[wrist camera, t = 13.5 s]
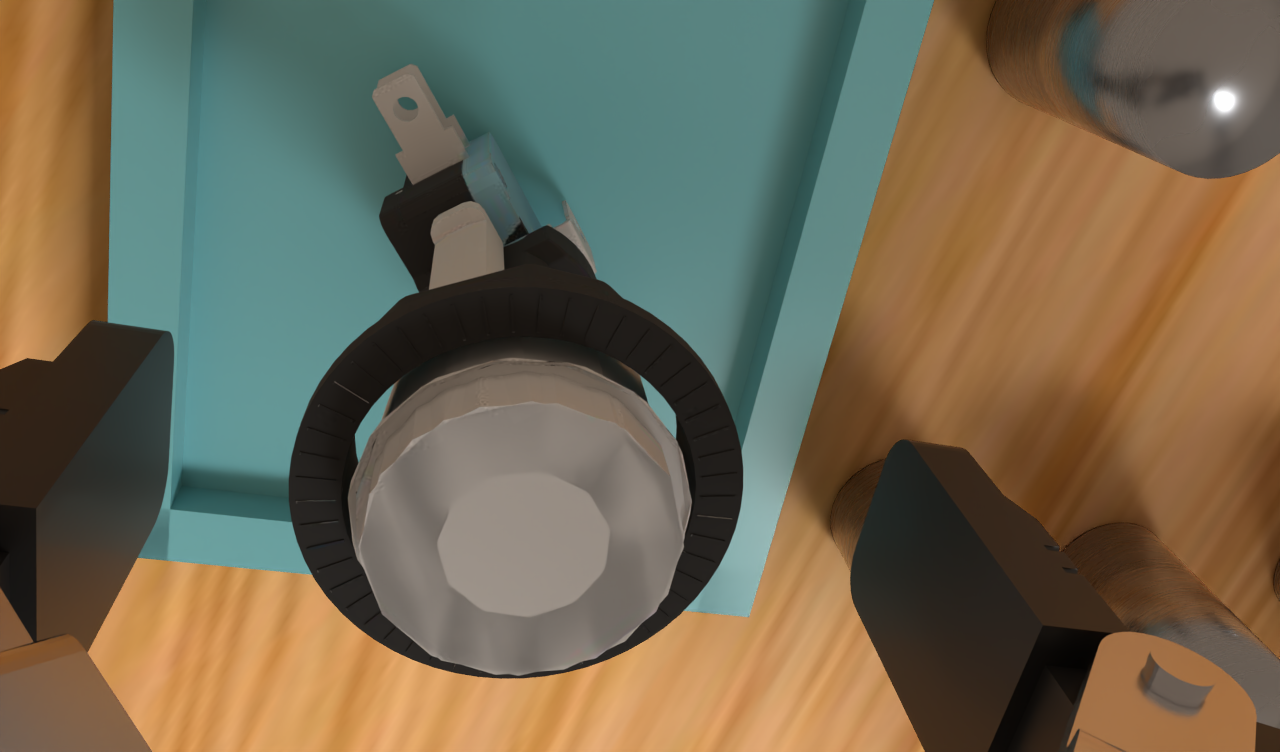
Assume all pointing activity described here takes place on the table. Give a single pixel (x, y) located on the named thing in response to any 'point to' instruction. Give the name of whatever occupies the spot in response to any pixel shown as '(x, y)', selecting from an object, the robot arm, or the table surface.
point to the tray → (547, 173)
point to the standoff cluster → (1185, 141)
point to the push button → (508, 435)
